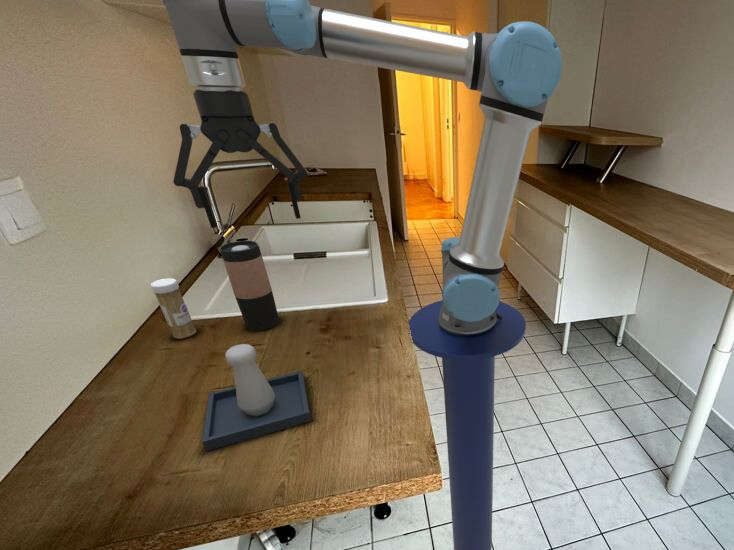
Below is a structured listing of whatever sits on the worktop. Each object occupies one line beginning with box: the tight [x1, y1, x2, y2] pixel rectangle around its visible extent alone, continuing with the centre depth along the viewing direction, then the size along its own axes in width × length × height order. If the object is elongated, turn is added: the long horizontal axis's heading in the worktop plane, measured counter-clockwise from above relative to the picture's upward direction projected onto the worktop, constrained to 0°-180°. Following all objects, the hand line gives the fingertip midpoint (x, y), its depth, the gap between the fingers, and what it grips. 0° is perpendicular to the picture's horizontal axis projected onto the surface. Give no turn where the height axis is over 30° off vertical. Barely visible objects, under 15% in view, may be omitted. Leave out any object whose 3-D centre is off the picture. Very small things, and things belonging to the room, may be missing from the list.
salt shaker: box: [224, 343, 275, 416], centre depth 71 cm, size 6×6×13 cm
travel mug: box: [219, 240, 280, 332], centre depth 97 cm, size 8×8×20 cm
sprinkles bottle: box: [150, 277, 197, 340], centre depth 93 cm, size 5×5×13 cm
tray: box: [202, 370, 312, 452], centre depth 74 cm, size 16×14×2 cm
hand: (257, 221), depth 76 cm, fingers open, 13 cm apart
